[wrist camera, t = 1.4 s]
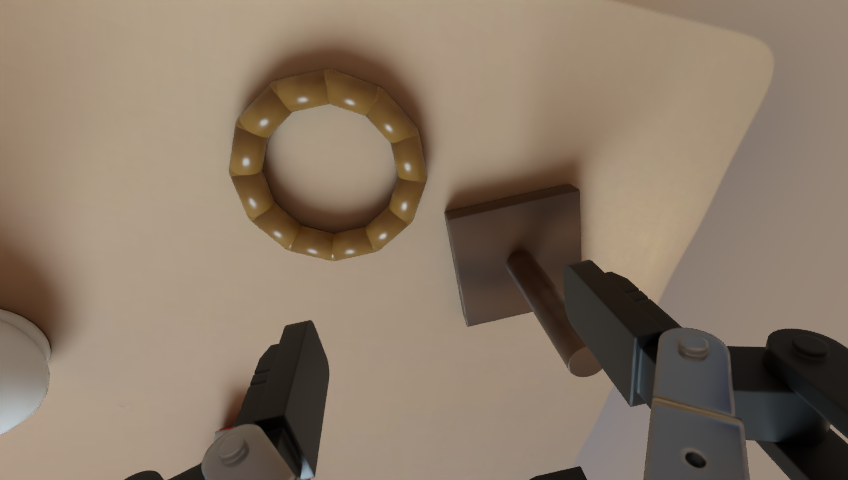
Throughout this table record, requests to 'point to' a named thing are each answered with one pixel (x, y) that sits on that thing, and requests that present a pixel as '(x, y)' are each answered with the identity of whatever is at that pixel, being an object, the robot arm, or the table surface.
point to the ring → (346, 95)
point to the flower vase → (21, 369)
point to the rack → (521, 264)
